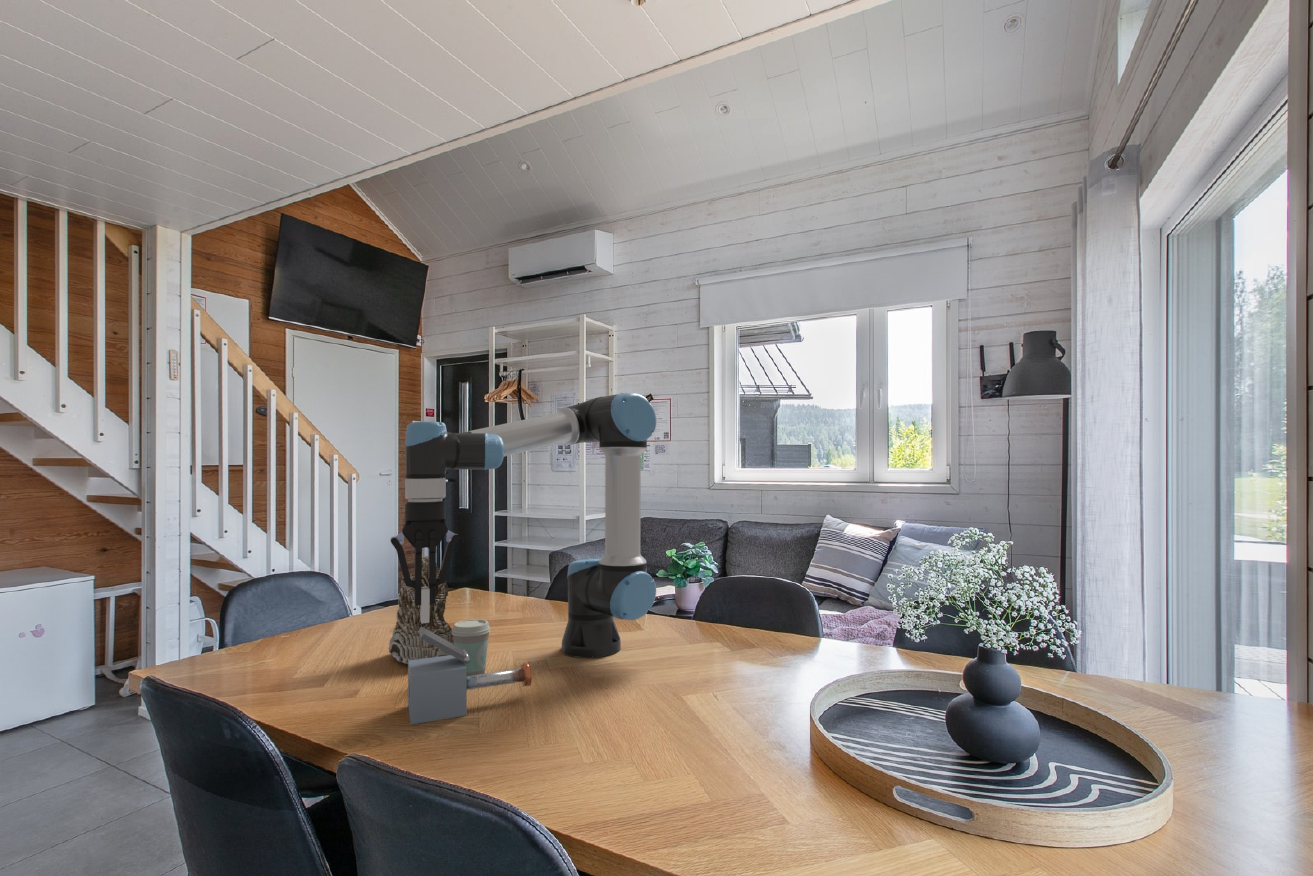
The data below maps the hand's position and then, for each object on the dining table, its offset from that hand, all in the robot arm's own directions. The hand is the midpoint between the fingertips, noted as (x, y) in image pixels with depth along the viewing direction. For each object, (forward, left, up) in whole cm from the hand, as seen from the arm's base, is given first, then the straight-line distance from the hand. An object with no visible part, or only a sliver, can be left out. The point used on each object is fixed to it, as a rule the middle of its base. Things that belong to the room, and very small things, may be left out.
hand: (424, 621), depth 126 cm
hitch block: (-2, 0, -18) cm, 18 cm away
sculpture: (-2, -37, -18) cm, 41 cm away
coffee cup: (-11, -18, -18) cm, 28 cm away
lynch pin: (-13, 0, -15) cm, 20 cm away
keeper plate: (-3, 0, -6) cm, 6 cm away
